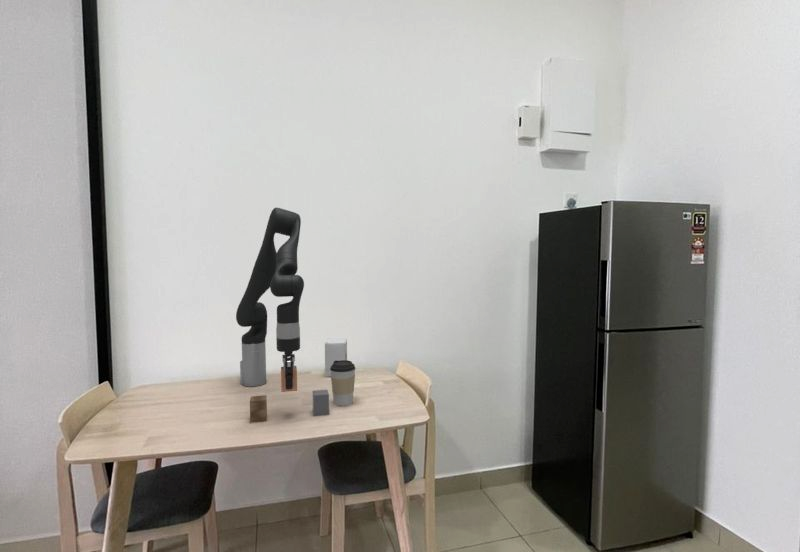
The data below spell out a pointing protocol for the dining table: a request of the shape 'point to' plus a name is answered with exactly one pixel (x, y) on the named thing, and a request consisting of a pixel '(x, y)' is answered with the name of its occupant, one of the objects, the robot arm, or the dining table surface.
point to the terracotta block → (283, 380)
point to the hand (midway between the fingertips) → (289, 386)
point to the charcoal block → (320, 402)
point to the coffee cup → (342, 382)
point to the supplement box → (334, 353)
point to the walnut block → (258, 408)
